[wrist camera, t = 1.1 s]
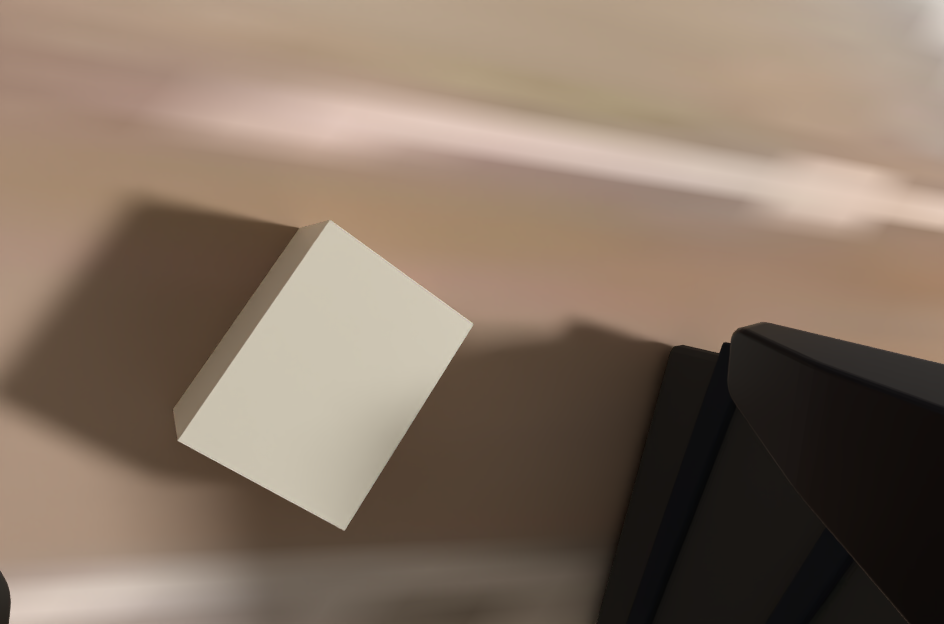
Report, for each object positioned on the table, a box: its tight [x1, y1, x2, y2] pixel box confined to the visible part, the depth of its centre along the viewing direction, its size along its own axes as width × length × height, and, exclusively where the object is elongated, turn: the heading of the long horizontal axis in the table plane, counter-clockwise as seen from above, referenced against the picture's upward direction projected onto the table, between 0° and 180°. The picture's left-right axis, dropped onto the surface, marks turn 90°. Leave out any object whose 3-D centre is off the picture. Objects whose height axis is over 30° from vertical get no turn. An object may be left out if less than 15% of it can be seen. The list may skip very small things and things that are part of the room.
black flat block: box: [597, 342, 909, 624], centre depth 21 cm, size 4×13×15 cm, turn 161°
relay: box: [173, 220, 473, 531], centre depth 19 cm, size 6×4×4 cm
